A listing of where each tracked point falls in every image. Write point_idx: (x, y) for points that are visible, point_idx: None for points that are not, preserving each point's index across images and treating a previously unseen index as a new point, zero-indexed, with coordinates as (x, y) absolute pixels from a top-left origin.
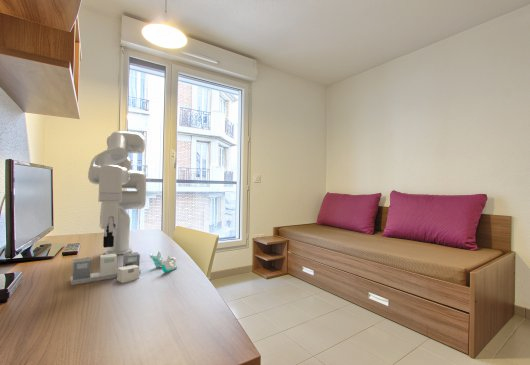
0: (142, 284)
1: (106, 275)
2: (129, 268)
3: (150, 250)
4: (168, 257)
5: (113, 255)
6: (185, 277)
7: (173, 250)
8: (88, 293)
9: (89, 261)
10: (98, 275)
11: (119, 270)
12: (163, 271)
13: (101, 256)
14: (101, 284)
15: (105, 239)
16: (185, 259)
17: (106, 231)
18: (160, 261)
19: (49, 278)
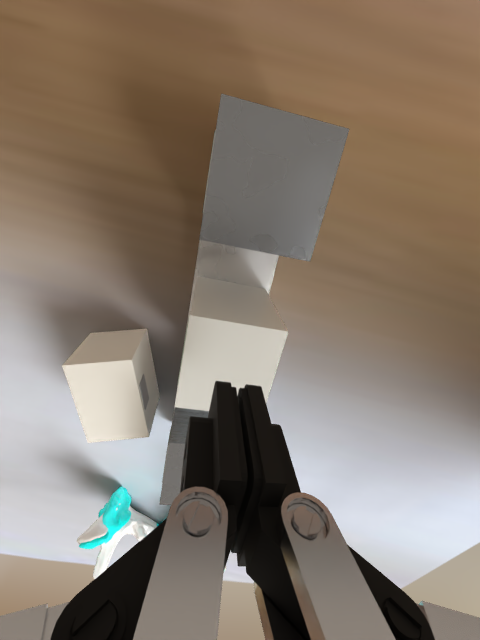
0: (10, 386)
1: (190, 301)
2: (77, 400)
3: (477, 535)
4: (95, 569)
5: (210, 394)
6: (11, 516)
7: (396, 583)
8: (4, 161)
9: (201, 228)
10: (212, 269)
11: (107, 356)
12: (118, 488)
13: (237, 327)
14: (122, 254)
15: (213, 458)
16: (243, 576)
17: (139, 619)
18: (88, 528)
19: (449, 49)
